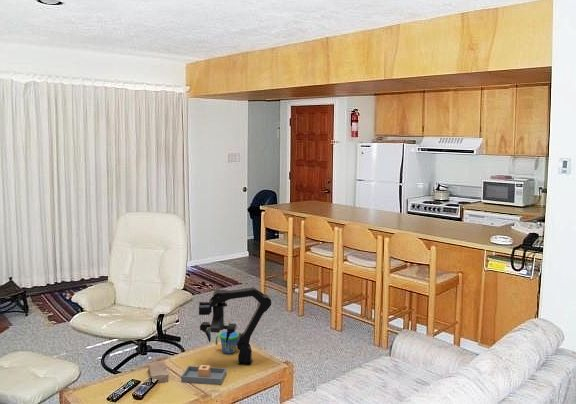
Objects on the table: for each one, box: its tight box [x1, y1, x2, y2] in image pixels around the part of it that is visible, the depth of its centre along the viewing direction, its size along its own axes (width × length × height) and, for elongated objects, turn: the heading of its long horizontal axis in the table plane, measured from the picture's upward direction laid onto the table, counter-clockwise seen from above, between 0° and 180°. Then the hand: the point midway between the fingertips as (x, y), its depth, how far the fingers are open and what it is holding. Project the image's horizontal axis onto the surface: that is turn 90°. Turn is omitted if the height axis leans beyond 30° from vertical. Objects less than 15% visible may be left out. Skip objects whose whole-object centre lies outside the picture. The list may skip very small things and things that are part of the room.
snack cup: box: [215, 330, 239, 354], centre depth 296 cm, size 16×10×10 cm
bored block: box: [198, 364, 211, 378], centre depth 263 cm, size 5×5×5 cm
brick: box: [148, 360, 169, 384], centre depth 265 cm, size 17×8×5 cm, turn 20°
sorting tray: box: [180, 365, 227, 386], centre depth 263 cm, size 20×12×3 cm, turn 84°
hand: (218, 342), depth 278 cm, fingers open, 9 cm apart
